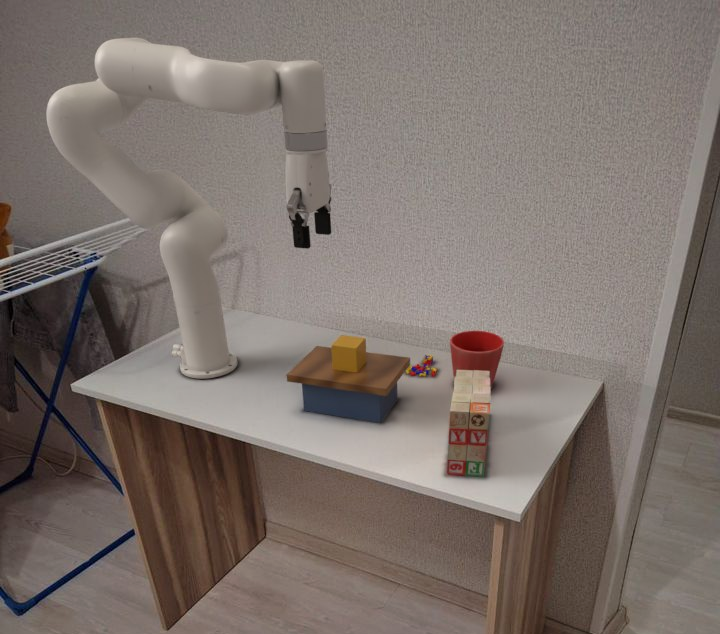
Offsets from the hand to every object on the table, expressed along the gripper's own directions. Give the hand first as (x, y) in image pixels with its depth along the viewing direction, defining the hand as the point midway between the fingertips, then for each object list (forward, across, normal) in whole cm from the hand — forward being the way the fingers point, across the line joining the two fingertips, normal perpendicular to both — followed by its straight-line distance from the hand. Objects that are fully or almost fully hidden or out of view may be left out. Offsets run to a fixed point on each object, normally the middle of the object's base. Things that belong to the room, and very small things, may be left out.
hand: (313, 240), depth 130 cm
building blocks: (+28, -9, +20) cm, 36 cm away
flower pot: (+28, -5, +32) cm, 43 cm away
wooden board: (+21, +11, +11) cm, 26 cm away
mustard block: (+20, +11, +11) cm, 25 cm away
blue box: (+28, +11, +11) cm, 32 cm away
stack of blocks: (+28, +18, +36) cm, 50 cm away
